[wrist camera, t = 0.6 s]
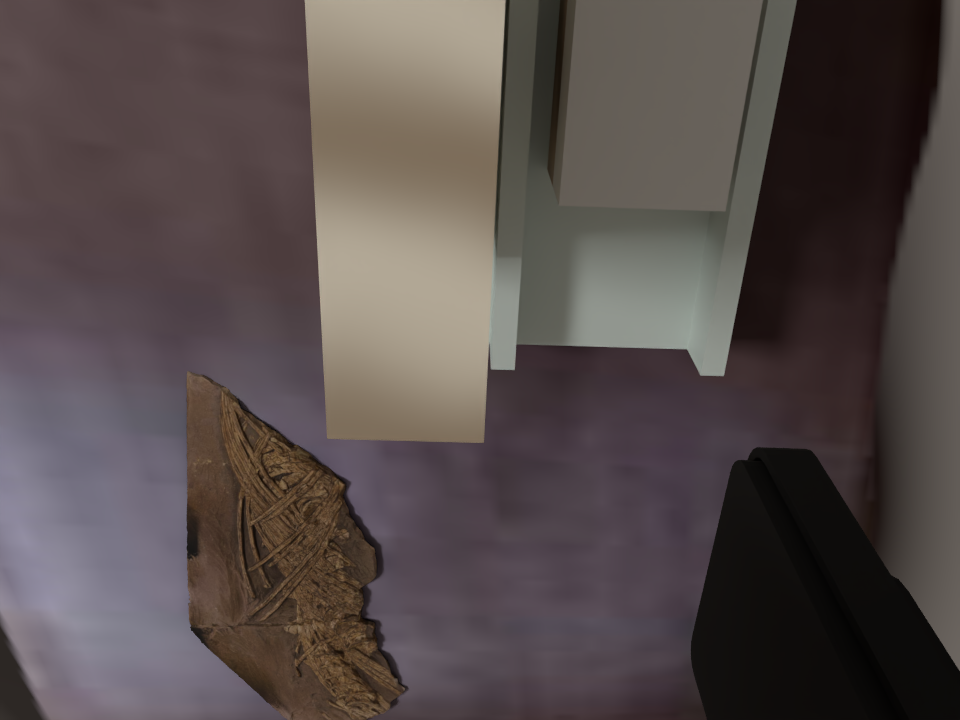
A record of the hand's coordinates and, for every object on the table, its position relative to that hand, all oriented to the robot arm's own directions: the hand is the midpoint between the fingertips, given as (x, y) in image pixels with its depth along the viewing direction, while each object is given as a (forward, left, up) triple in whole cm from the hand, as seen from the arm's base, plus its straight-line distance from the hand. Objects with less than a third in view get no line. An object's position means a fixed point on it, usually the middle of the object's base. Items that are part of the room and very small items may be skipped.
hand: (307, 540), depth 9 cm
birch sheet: (-1, 0, -27) cm, 27 cm away
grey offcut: (-1, +8, -25) cm, 26 cm away
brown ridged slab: (+26, -8, -29) cm, 39 cm away
